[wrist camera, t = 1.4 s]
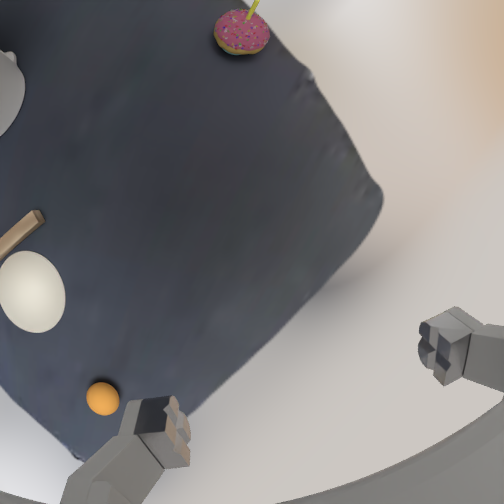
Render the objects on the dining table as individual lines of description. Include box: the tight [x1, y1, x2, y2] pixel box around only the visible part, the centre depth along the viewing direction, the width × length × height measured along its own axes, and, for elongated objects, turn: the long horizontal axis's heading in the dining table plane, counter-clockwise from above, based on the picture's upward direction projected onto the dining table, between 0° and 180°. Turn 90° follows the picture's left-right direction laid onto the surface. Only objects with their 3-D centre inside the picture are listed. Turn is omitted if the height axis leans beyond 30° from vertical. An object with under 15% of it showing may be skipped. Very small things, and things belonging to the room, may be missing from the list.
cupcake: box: [214, 0, 270, 55], centre depth 36 cm, size 9×8×12 cm
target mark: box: [0, 251, 65, 333], centre depth 38 cm, size 13×13×1 cm
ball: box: [87, 382, 119, 415], centre depth 41 cm, size 6×6×6 cm
